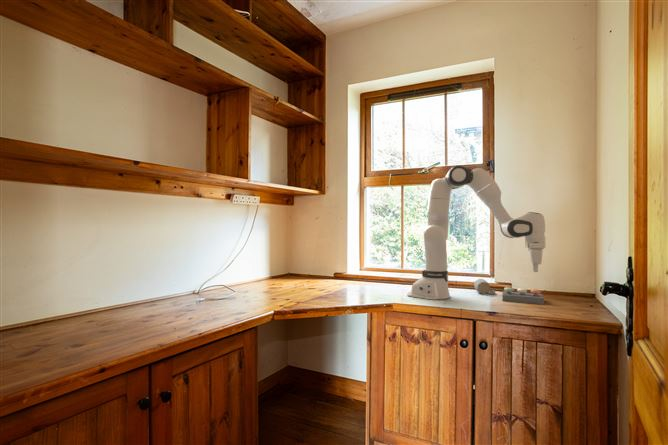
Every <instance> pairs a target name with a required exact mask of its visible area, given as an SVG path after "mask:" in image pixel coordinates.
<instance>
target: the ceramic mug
mask: <svg viewBox="0 0 668 445" xmlns="http://www.w3.org/2000/svg"><path fill="white" fill-rule="evenodd" d="M473 287H474V289H475V291H477V292H478V293H479V294H481V295H486V294H488V293H490V294H493V295H495V294H496V290H494V289H493V288H491V285H490V284H489V282H488V281H486V280H485V279H483V278H478V279H476V280H474V284H473Z"/></svg>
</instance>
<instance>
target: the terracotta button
mask: <svg viewBox="0 0 668 445" xmlns="http://www.w3.org/2000/svg"><path fill="white" fill-rule="evenodd" d="M541 291H542V290H541V289H538V288H537V289H535V288H532V289H530V293H533V294H534V296H538V294H542V292H541Z"/></svg>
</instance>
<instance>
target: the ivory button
mask: <svg viewBox="0 0 668 445" xmlns="http://www.w3.org/2000/svg"><path fill="white" fill-rule="evenodd" d="M516 289H517V290H516V292H519V293H520V295H524V293H528V289H527V288H524V287H523V288H522V287H519V288H516Z"/></svg>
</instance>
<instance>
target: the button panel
mask: <svg viewBox="0 0 668 445" xmlns="http://www.w3.org/2000/svg"><path fill="white" fill-rule="evenodd" d="M501 301H502V302H509V303H523V304H524V303H525V304H531V305H532V304H534V305H544V304H545V298H544V296H543V294H542V293H541V294H538V296H534V294H533V293H531V292H527V293H524V295H520V293H519V292H517V291H514V292H511V294H507V292H506V291H504V290H502V300H501Z"/></svg>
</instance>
